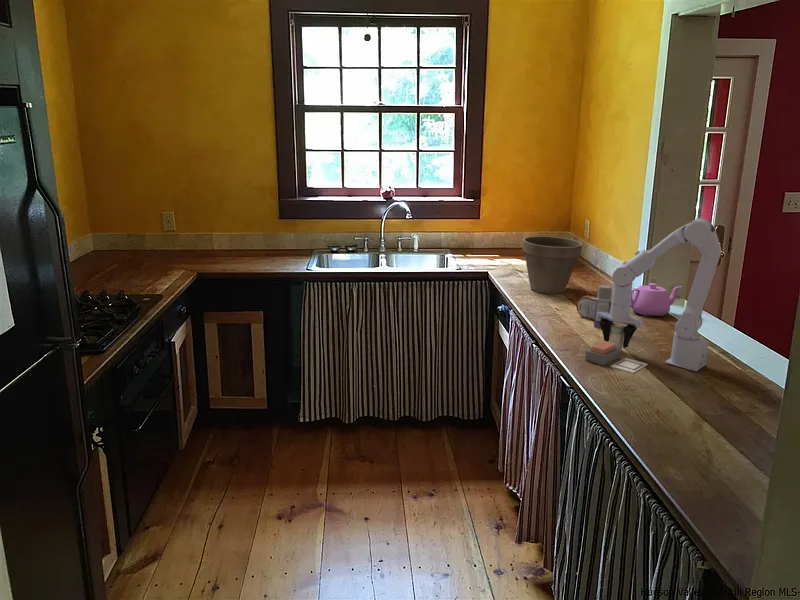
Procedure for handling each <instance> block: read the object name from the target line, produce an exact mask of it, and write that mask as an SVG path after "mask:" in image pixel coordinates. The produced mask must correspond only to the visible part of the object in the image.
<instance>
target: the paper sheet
mask: <svg viewBox="0 0 800 600" xmlns="http://www.w3.org/2000/svg"><path fill="white" fill-rule="evenodd" d="M648 365H649V363H646V362H642V361H640V360H634V359H632V358H629V357H628V358H627V357H625V358H623V359H621V360H619V361H617V362H616V363H613V364H612V365H610V368H613V369H618V370H620V371H624V372H627V373H631V374H634V373H637V372H638V371H640V370H642V369H643V368H645V367H647V366H648Z"/></svg>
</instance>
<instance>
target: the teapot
mask: <svg viewBox="0 0 800 600" xmlns="http://www.w3.org/2000/svg"><path fill="white" fill-rule="evenodd" d="M682 287H683V286H682V285H677V286H674V287H673V289H672V290H671V294H670V296H669V294H668V291H667V289H665V288H664V287H661V286H658V284H657V283H656V282H655V283H654V282H653V283H652V282H650V283H648V285H640V286H638V287H635V288H632V295H631V303H630V308H631V309H632V310H633V311H634V312H635V313H636V314H638V315H641V316H644V317H647V316H652V317H653V316H657V317H662V316H666V315H668V313H669V312H670V311H671V306H672V305H673V304H674V303H675V301H676V296H677V293H678V290H679V289H681V288H682Z"/></svg>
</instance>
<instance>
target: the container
mask: <svg viewBox="0 0 800 600" xmlns="http://www.w3.org/2000/svg"><path fill="white" fill-rule="evenodd" d="M612 289H613V287H612V286H611V285H606V284H601V285H598V288H597V295H596V297H597V301H596V310H595V319H594V320H593V328H595V329H596V330H597V329H599V330H602V329H601V326H600V324H599V321H601V319H598V318H596V315H597V312H599V311H600V312H606V313H609V309H610V301H612Z"/></svg>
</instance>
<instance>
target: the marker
mask: <svg viewBox="0 0 800 600" xmlns="http://www.w3.org/2000/svg"><path fill="white" fill-rule="evenodd" d="M624 327H625V326H624V325H622V324H612V326H611V331H610V339H609V342H611V343H615V344H616V347H617V348H621V349H620V353H621V352H623V341H624Z"/></svg>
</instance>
